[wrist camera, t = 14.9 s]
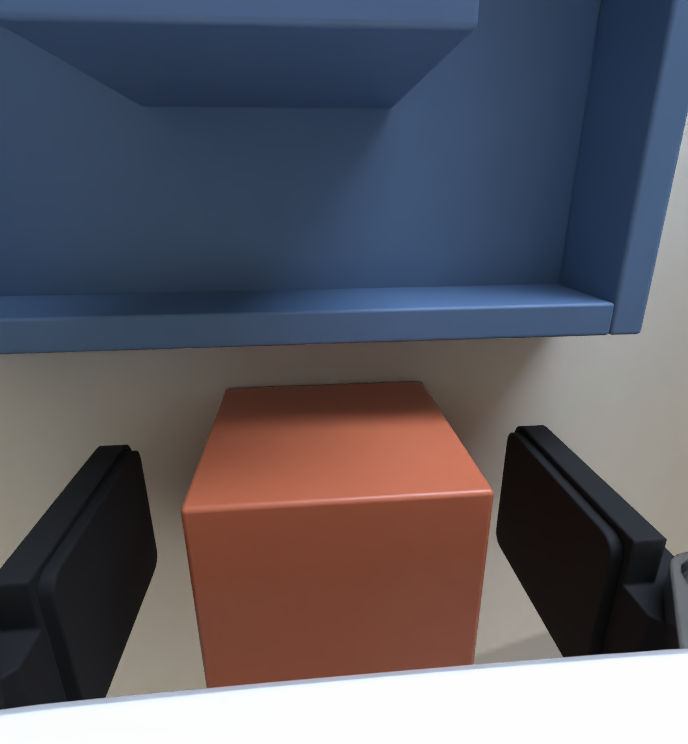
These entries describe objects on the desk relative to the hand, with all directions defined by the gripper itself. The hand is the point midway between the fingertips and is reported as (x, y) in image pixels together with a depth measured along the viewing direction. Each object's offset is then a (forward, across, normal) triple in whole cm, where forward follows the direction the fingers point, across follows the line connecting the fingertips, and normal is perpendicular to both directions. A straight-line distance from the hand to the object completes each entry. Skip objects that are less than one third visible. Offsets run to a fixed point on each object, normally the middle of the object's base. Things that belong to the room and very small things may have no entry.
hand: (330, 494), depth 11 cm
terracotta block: (+1, 0, 0) cm, 1 cm away
